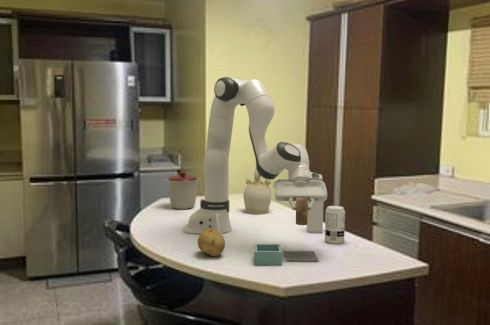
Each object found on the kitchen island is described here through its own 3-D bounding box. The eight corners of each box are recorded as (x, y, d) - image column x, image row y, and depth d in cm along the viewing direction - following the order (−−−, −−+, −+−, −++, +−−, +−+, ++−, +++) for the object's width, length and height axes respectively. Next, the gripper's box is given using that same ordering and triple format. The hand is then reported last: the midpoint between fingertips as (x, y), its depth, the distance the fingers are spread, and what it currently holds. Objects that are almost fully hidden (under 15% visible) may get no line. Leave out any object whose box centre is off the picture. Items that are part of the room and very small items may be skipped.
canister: (197, 211, 267) (197, 173, 264) (164, 210, 267) (163, 173, 265) (200, 204, 285) (200, 169, 282) (169, 204, 285) (169, 168, 283)
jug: (276, 211, 269) (276, 166, 266) (262, 216, 256) (262, 169, 253) (252, 207, 277) (253, 164, 275) (237, 212, 264) (238, 167, 262)
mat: (286, 261, 181) (286, 260, 181) (284, 252, 193) (284, 250, 193) (318, 261, 181) (318, 260, 181) (314, 252, 193) (314, 251, 193)
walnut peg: (296, 225, 184) (296, 199, 182) (295, 222, 188) (295, 197, 187) (308, 225, 184) (308, 199, 182) (306, 222, 188) (307, 197, 187)
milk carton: (321, 233, 223) (323, 192, 221) (306, 232, 224) (307, 191, 222) (322, 229, 230) (323, 189, 228) (307, 228, 231) (308, 189, 229)
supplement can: (322, 239, 213) (323, 205, 211) (341, 238, 214) (342, 205, 212) (327, 244, 205) (328, 209, 203) (346, 244, 206) (347, 209, 204)
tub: (254, 264, 177) (254, 251, 177) (254, 256, 187) (254, 243, 187) (281, 265, 177) (282, 251, 177) (280, 256, 187) (280, 244, 187)
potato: (216, 248, 197) (216, 224, 196) (228, 257, 186) (229, 232, 185) (192, 251, 193) (192, 227, 192) (204, 261, 182) (203, 234, 180)
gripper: (274, 174, 191) (275, 204, 182) (326, 175, 191) (329, 204, 182) (273, 184, 196) (274, 213, 187) (323, 184, 196) (327, 213, 187)
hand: (302, 209), depth 185 cm, fingers closed on walnut peg, 4 cm apart
